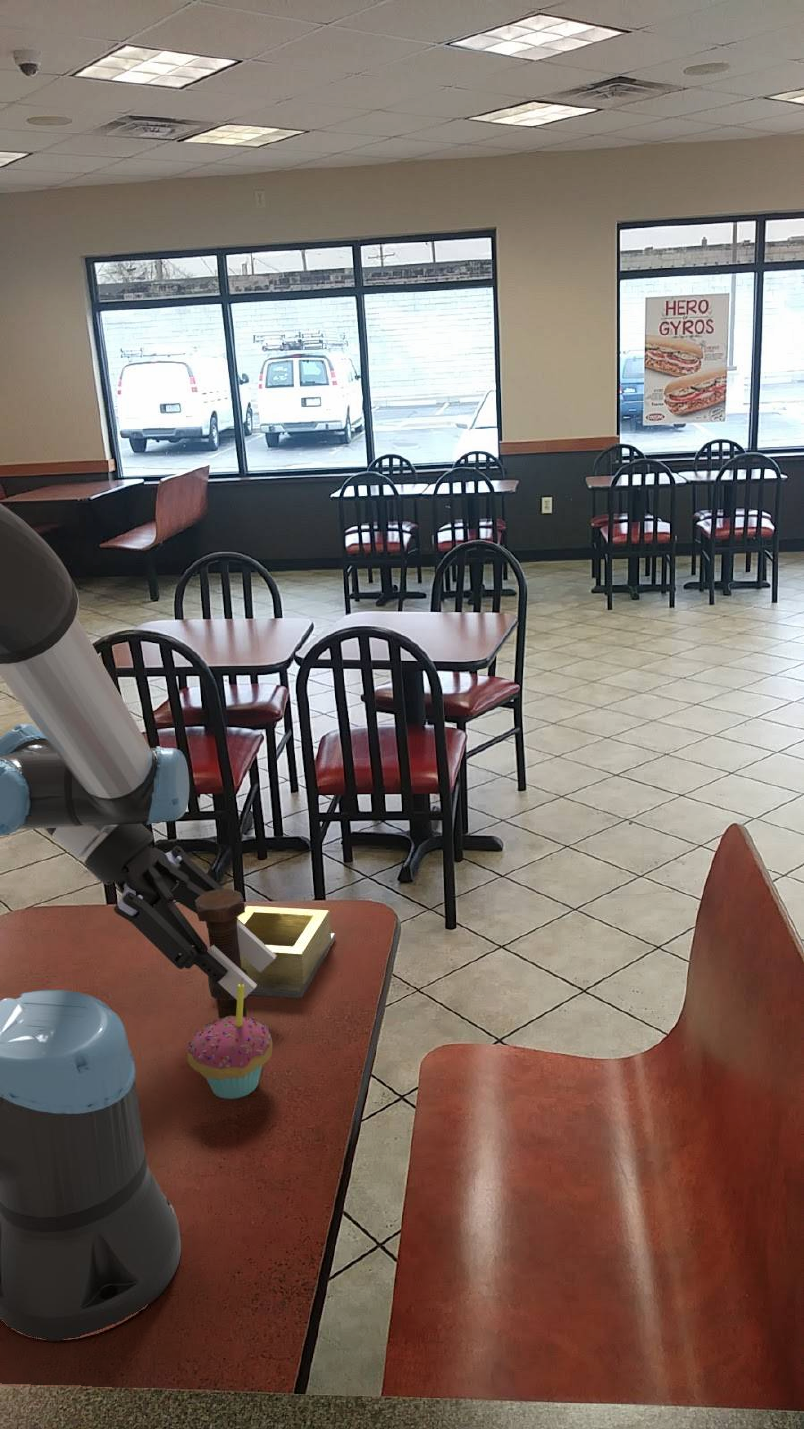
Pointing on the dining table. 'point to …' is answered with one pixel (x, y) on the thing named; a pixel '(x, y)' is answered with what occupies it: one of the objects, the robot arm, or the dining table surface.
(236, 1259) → the dining table surface
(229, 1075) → the cupcake
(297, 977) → the mount
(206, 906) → the bolt
